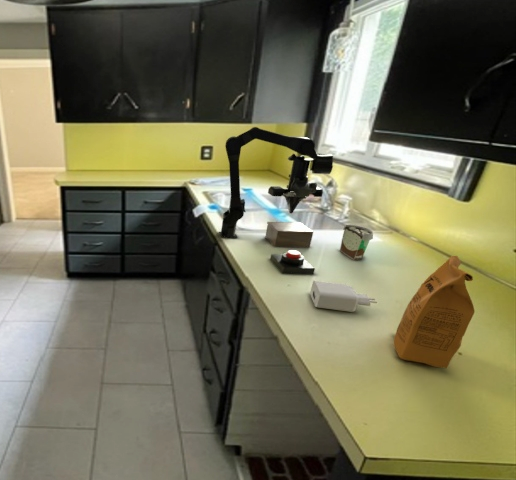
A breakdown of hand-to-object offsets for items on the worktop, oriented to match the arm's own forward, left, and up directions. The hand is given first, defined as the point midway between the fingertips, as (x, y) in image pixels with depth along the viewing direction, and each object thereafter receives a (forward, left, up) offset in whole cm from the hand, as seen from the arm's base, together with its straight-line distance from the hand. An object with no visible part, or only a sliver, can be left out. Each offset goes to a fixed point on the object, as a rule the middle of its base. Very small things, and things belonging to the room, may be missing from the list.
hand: (290, 213), depth 144 cm
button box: (+27, -8, -12) cm, 30 cm away
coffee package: (+74, +2, -12) cm, 75 cm away
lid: (+2, 0, -6) cm, 6 cm away
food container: (+15, +20, -12) cm, 28 cm away
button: (+27, -8, -8) cm, 29 cm away
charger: (+53, -4, -12) cm, 54 cm away
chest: (+2, 0, -12) cm, 12 cm away
